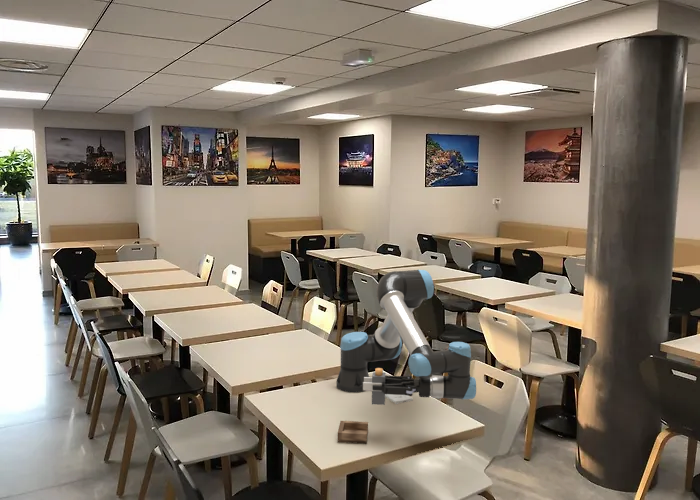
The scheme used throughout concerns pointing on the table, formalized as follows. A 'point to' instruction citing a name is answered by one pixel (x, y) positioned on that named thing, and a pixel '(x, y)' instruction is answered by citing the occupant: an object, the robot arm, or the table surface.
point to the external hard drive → (398, 398)
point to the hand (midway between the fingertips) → (363, 383)
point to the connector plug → (378, 396)
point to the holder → (353, 432)
